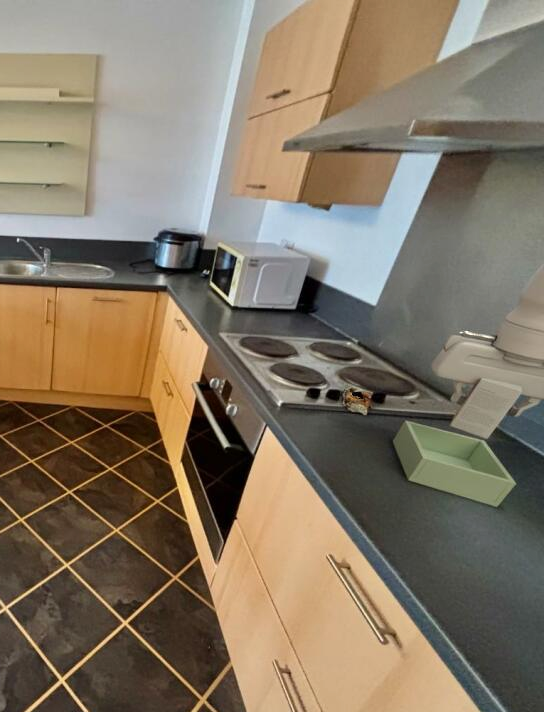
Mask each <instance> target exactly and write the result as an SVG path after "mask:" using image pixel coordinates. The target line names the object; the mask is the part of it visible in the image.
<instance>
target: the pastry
mask: <svg viewBox="0 0 544 712" xmlns="http://www.w3.org/2000/svg"><path fill="white" fill-rule="evenodd" d="M340 391H341V394H340V395H339V396H341V395H342V398H343V401H342V404H343V405H344V407H345V408H346V409H347V410H349V411H350V412H353V413H360V414H362V415H364V416H367V414H368V409H369V408H370V409H371V410H373V406H372V403H371V399H372V392H370V391H364V390H363V389H362V388H354V387H353V386H351V385H349V386H348V387H346V388H344V389H343V390H340ZM353 391H354V392H361V393H362V395H363V399H361V398H360V397H358V396H353V395H352V392H353ZM359 398H360V399H359Z"/></svg>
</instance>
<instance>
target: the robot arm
mask: <svg viewBox="0 0 544 712" xmlns="http://www.w3.org/2000/svg"><path fill="white" fill-rule="evenodd" d="M430 369H431V370H432V371H431V372H433V374H434V375H435V376H436V377H438V378H442V379H446V380H447V379H448V380H451V381H452V386H453V391H454V392H453V394H452V396H451V397H450V401H451V402H452V403H454V404H459V405H461V404H463V403H464V401H465V400H466V399H467V395H466V394H465V392H463V391H462V388H464V389H465V388H467V386H468V385H470V384H471V385H473V386H474V385H476V384H477V383H478V381H479V380H480V379H481V378H485V379H491V380H496V381H500V382H505V383H509V384H514V385H518V386H521V387H523V388H522V393H521V395H520V396H523V398H524V399H522V400H521V401H518V402H517V403H514V404H513V405H512V407H511V408H510V409H509V411H508V412H507V413H506V415H505V416H511V417H514V418H519V416H520V415H521V414H522V413H523V411H525V410H528V409H530V408H532V407H535V406H538V405H539V404H540V402H542V400H544V262H543V263H541V265H539V267H538V268H537V269H536V271H535V272H534V274H533V275H532V276H531V278H530V279H529V280H528V282H527V283H526V285H525V286H524V287H523V290H522V291H521V293H520V295H519V297H518V301H517V303H516V306H515V307H514V309H512V311H510V312H509V313H508V314H507V315H506V316H505V318H504V319H503V320H502V322H501V323H500V325H499V327H498V328H497V330H496V331H495V333H494V334H487V333H482V332H481V333H480V332H475V331H471V330H462V331H457V332H454V333H452V334H450V335H449V336H448V337H447V339H446V340H445V342H444V343H443V348H442V350H441V351H440V352H439V353H438V354H437V355H436V356H435V358H434V360H433V361H432V363H431V365H430Z"/></svg>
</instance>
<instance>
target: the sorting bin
mask: <svg viewBox="0 0 544 712" xmlns="http://www.w3.org/2000/svg"><path fill="white" fill-rule="evenodd" d="M392 443H393V446H394V448H395V451H396V454H397V457H398V458H399V461H400V463H401V466H402V469H403V471H404V473H405V476H406V479H407V480H408V482H409V481H410V482H413V483H416V484H420V485H423V486H427V487H429V488H433V489H436V490H440V491H443V492H446V493H449V494H453V495H456V496H460V497H463V498H467V499H470V500H473V501H475V502H479V503H483V504H486V505H488V506H489V505H490V506H492V507H496V508H497V507H499V505H501V503H502V502H503V500H504V499H505V498H506V497H507V496H508V495H509V493H510V492H511V491H512V489H514V487H515V486H516V485H517V483H516V481H515V480H514V478H513V477H512V475H510V473H509V472H508V471H507V469H506V467H505V466H504V465H503V463H502V462H501V461H500V459H499V458H498V457H497V456H496V454H495V453H494V452H493V450H492V449H491V447H490V446H489V445H488V443H487V442H486V441H485V440H484V439H479V438H475V437H472V436H468V435H463V434H460V433H457V432H452V431H448V430H444V429H440V428H437V427H432V426H428V425H425V424H420V423H417V422H414V421H409V420H404V422H403V423H402V425H401V427H400V428H399V430H398V431H397V433H396V435H395V437H394V438H393V440H392Z"/></svg>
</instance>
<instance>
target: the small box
mask: <svg viewBox="0 0 544 712" xmlns="http://www.w3.org/2000/svg"><path fill="white" fill-rule="evenodd" d="M522 388H523V387H521V386H518V385H514V384H509V383H505V382H500V381H496V380H491V379H485V378H481V379H480V380H479V381H478V383H477V384H476V385H474V384H473V386H472V388H471V389H470V391H469V392H468V393H467V395H466V396H467V399H466V400H465V401H464V403H463V404H459V406H458V408H457V410H456V411H455V413H454V416H453V418H452V420H451V422H450V424H449V427H452V428H455V429H457V430H461V431H463V432H465V433H469V434H472V435H473V436H476V437H480V438H482V439H485V440H488V439H489V438H490V436H491V435H492V434H493V432H494V431H495V429H496V428H497V427H498V425H499V424H500V423H501V421H503V419H504V418H505V416H507V415H506V413H507V412H508V411H509V409H510V408H511V407H512V405H513V404H514V405H515V404H516V402H517V400H518V399H519V397H520V396H522V395H521V393H522Z"/></svg>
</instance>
